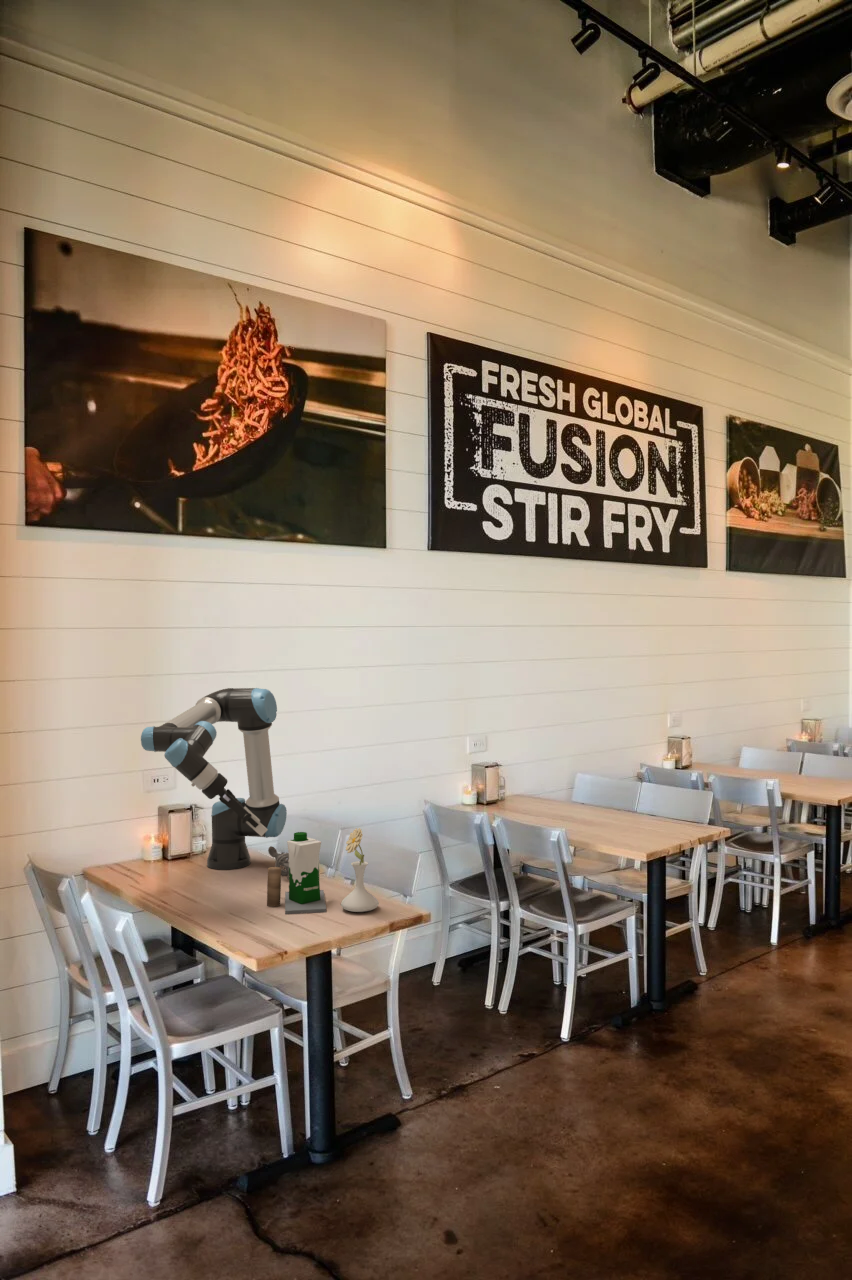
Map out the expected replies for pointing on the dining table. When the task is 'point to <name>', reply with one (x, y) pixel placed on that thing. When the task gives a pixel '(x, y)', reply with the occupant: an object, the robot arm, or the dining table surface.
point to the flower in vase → (358, 880)
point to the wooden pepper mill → (274, 886)
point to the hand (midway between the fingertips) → (260, 828)
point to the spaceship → (280, 860)
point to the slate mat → (305, 905)
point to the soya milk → (304, 868)
